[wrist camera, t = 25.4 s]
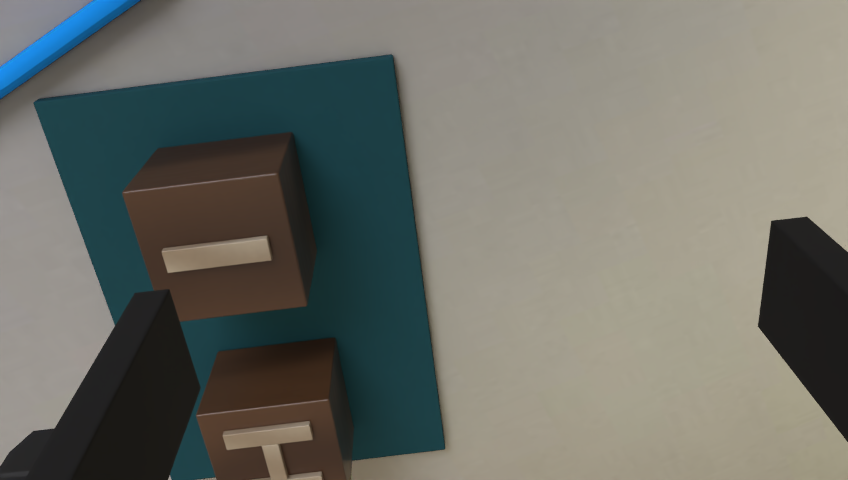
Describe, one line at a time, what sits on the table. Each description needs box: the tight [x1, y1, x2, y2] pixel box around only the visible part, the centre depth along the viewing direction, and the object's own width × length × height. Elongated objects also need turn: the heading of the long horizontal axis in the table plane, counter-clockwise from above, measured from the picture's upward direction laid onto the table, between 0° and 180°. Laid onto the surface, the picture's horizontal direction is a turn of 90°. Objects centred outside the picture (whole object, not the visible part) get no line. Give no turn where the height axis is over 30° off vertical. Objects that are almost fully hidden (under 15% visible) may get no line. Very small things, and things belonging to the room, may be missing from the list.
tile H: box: [196, 337, 354, 480], centre depth 33 cm, size 6×6×5 cm
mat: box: [34, 55, 445, 480], centre depth 33 cm, size 20×14×1 cm
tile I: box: [122, 132, 317, 322], centre depth 28 cm, size 6×6×5 cm
